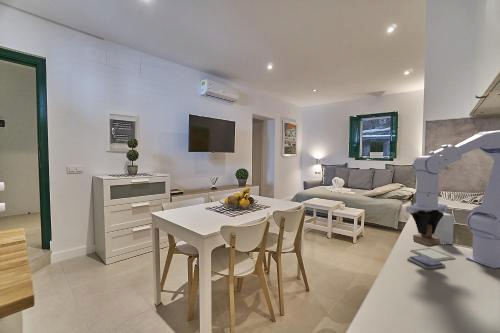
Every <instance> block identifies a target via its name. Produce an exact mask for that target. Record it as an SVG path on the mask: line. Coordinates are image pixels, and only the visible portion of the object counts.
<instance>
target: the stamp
mask: <svg viewBox="0 0 500 333" xmlns="http://www.w3.org/2000/svg"><path fill="white" fill-rule="evenodd" d="M412 236H413V238H412V240H413V242H414V243H416V244H419V245H422V246H425V247H426V248H430V247H439V246H440V238H437V237H434V236H433V234H432V225H431V224H428V225H427V233H426V235H423V234H420V233H418V234H413V235H412Z"/></svg>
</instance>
